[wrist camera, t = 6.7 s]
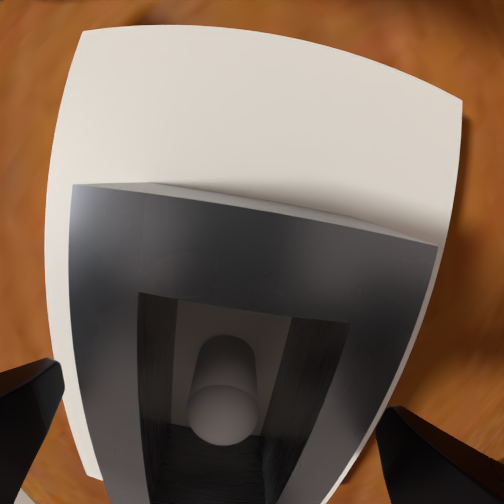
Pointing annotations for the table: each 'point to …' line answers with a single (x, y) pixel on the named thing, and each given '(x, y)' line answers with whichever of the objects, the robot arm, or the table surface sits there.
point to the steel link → (244, 298)
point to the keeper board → (243, 180)
